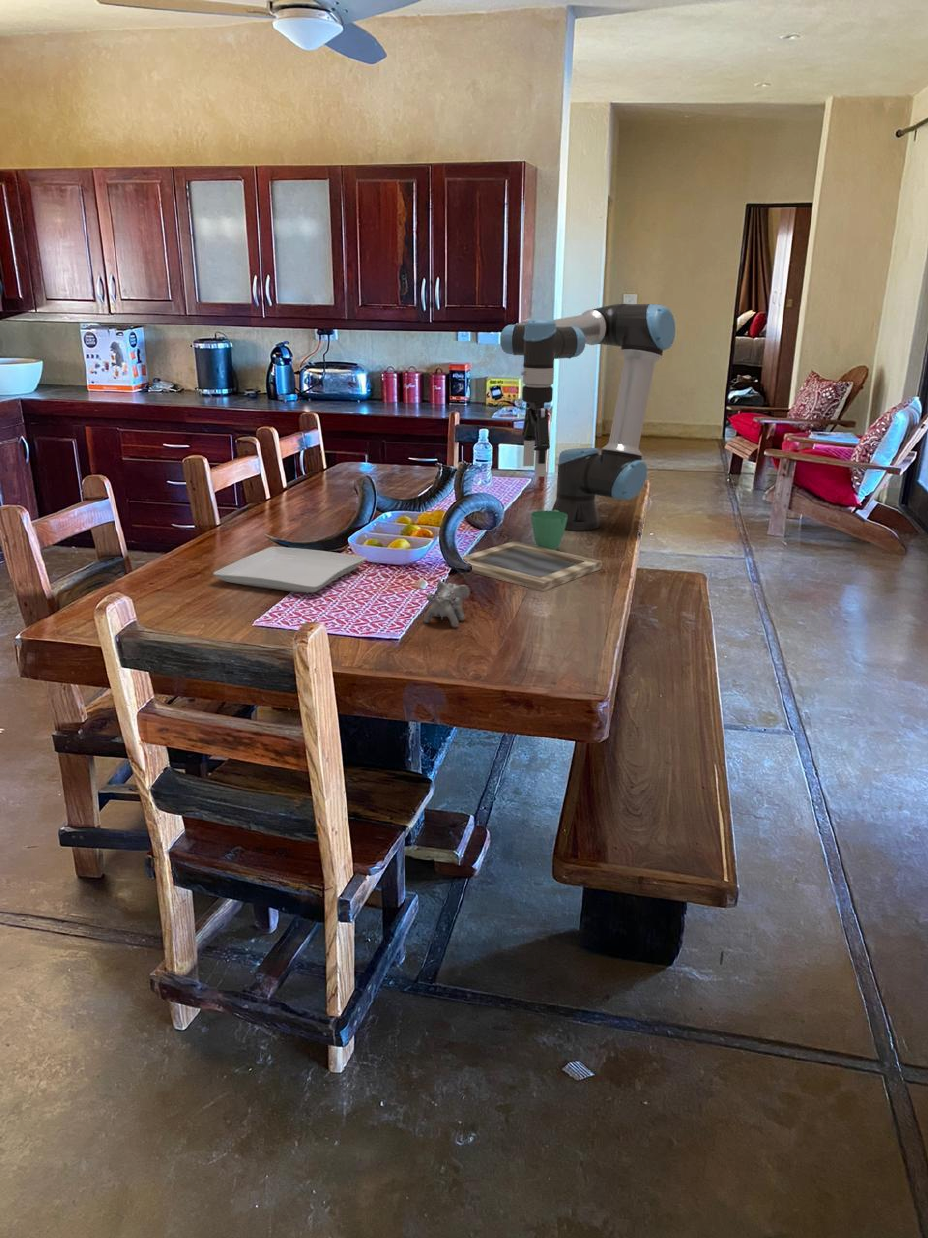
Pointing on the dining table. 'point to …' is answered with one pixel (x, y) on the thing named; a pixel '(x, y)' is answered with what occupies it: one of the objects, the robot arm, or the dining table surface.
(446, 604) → the elephant statuette
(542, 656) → the dining table surface
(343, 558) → the square plate
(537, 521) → the green tapered cup
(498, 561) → the framed board
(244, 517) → the dining table surface
